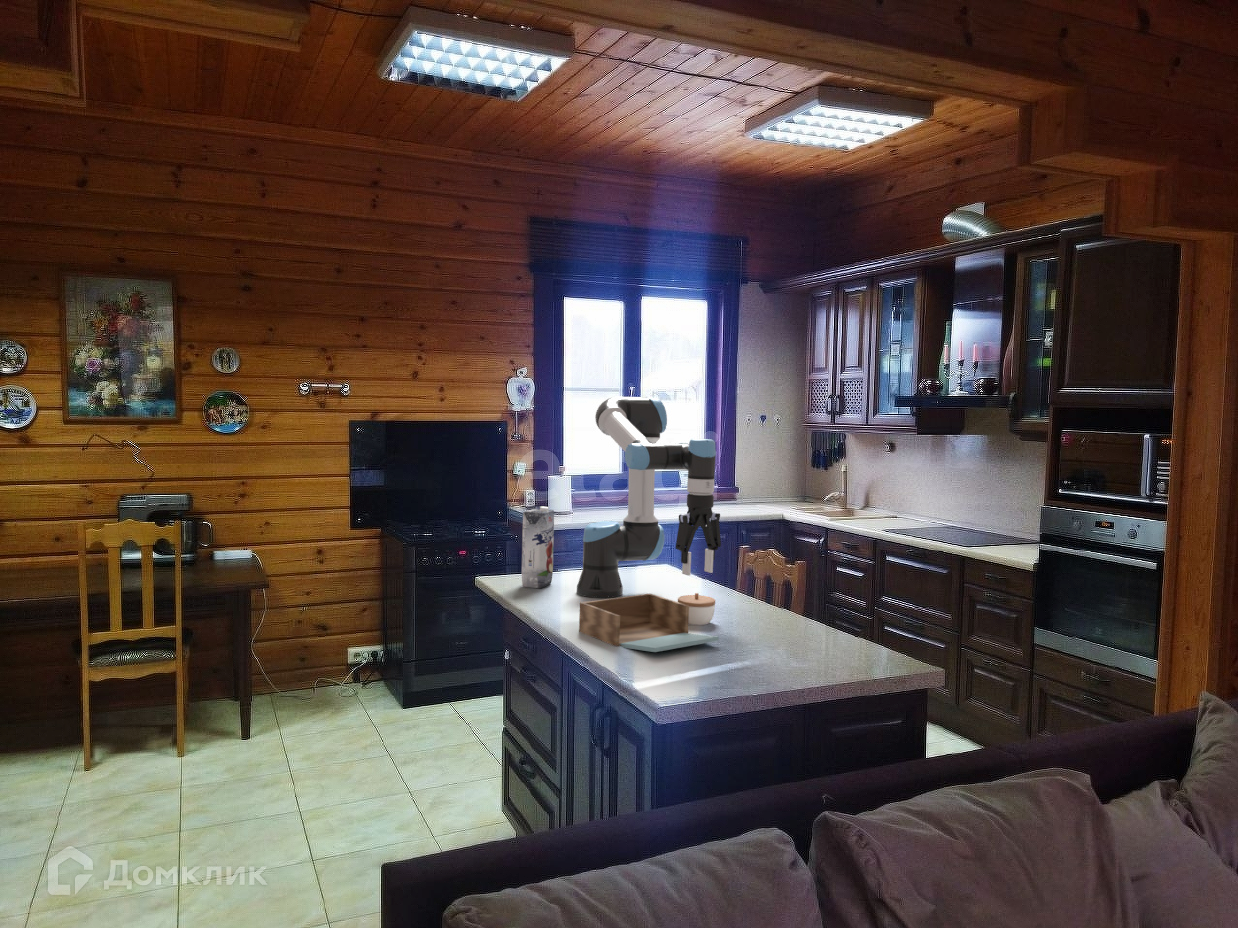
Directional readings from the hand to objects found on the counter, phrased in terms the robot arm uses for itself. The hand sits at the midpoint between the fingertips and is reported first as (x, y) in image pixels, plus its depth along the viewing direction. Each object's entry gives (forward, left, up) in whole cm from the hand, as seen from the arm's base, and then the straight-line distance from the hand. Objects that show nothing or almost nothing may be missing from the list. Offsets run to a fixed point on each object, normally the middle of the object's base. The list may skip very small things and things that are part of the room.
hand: (697, 573), depth 255 cm
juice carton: (-68, -12, -15) cm, 71 cm away
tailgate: (+9, -23, -14) cm, 28 cm away
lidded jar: (0, 0, -15) cm, 15 cm away
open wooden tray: (+1, -23, -15) cm, 28 cm away
